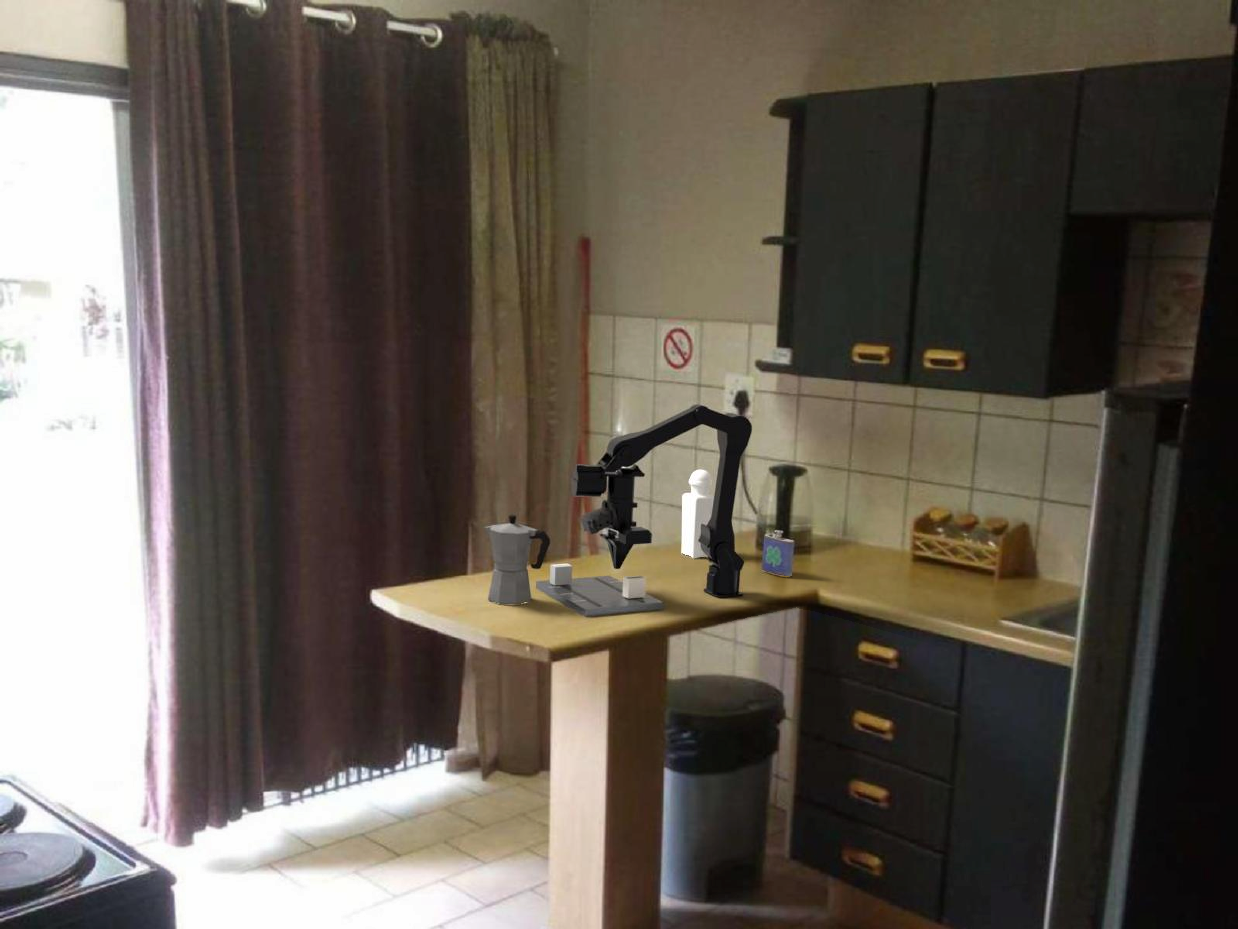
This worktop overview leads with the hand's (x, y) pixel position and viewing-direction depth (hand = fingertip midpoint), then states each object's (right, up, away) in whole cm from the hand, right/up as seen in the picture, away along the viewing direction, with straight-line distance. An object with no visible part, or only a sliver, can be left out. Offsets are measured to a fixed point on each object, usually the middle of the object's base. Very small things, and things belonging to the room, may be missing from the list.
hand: (616, 568), depth 245 cm
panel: (-4, -6, -2) cm, 8 cm away
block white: (-12, -3, +2) cm, 13 cm away
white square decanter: (+20, -1, +44) cm, 49 cm away
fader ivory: (+3, -5, -6) cm, 9 cm away
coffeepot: (-21, -6, -7) cm, 23 cm away
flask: (+38, -4, +28) cm, 47 cm away
